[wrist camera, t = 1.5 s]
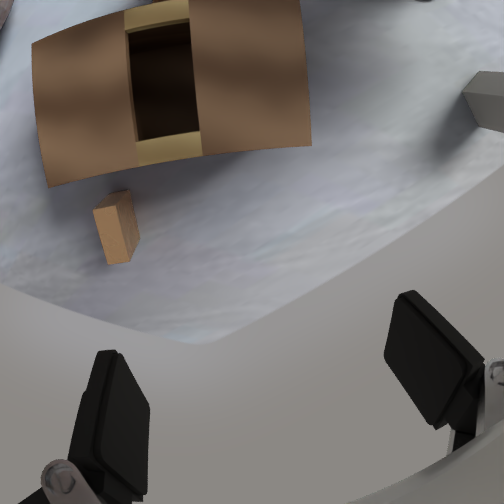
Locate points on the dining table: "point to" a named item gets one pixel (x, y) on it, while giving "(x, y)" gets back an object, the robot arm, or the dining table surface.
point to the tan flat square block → (117, 227)
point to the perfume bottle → (487, 99)
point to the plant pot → (4, 10)
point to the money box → (170, 85)
